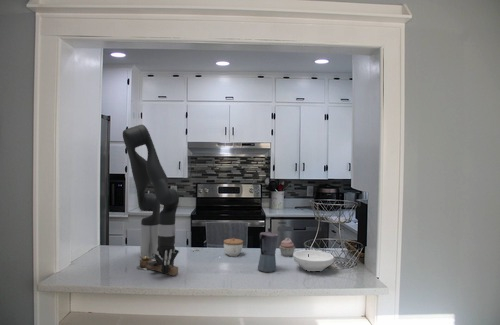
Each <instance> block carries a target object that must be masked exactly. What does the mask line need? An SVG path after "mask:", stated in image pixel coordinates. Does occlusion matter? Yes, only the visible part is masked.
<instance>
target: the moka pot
mask: <svg viewBox="0 0 500 325" xmlns="http://www.w3.org/2000/svg"><path fill="white" fill-rule="evenodd" d="M271 230H272V228H270V227H269V228H267V231H265V232H264V231H262V232H260V233H259V248H260V254H259V259H258V264H257V270H258V271H261V272H262V273H263V272H264V273H272V272H273V273H274V272H276V271H277V261H276V250H277V246H278V245H277V244H278V240H279V234H278V233H276V232H271Z"/></svg>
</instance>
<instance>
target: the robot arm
mask: <svg viewBox="0 0 500 325" xmlns="http://www.w3.org/2000/svg"><path fill="white" fill-rule="evenodd" d="M122 138H123V143H124V146H125V149H126V151H127V155H128V159H129V163H130V168H131V173H132V178H133V181H134V184H135V190H136V194H137V205H138V208H139V210H140V211H142V212H152V213H151V214H150V215H149V216H146V217H143V218H142V219H141V222H140V259H143V256H149V259H151V260H152V259H154V261H157V263H158V264H161V265H162V269H161V271H162V272H161V273H163V274H164V275H166V273H168V270H169V264H170V263H172V262H173V261H174V262H175V259H176V257H177V256H178V254H179V253H180V252H179V250H178V249H176V247H175V244H176V214H177V210H178V206H179V202H180V196H179V193H178V191H177V190H176V189H174V188H168V184H167V183H169V178H168V176H167V175H166V172H165V170H164V168H163V166H162V163H161V162H160V159H159V157H158V153H157V150H156V148H155V145H154V142H153V140H152V137H151V134H150V131H149V129H148V128H147V127H146V125H144V124H138V125H135V126H132V127H129V128H126V129H123V131H122ZM142 146H145V148H146V150H147V158H144V157H142V156H141V155H140V154H139V153H138V152H137V151H136V148H139V147H142ZM150 183H151V184H152V187H153V190H154V193H146V190H147V188H148V186H149V185H150ZM161 206H163V207H162V208H163V209H162V210H161Z"/></svg>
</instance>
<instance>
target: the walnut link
mask: <svg viewBox="0 0 500 325" xmlns="http://www.w3.org/2000/svg"><path fill="white" fill-rule="evenodd" d="M153 261H154V260H153V259H152V258H151V259H149V258H148V260H143V258H140V259H139V265H138V266H140V267H142V268H149V270H153V271H156V272H160V273H162V271H161V269H162V265H161V264H160V265H157V266H150V265H149V263H150V262H153ZM166 274H167V275H170V276H176V275H178V274H179V267H178V266H175V265H174V266H172V265H169V270H168V273H165V275H166Z"/></svg>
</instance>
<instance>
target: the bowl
mask: <svg viewBox="0 0 500 325" xmlns="http://www.w3.org/2000/svg"><path fill="white" fill-rule="evenodd" d="M308 254H309V257H308ZM292 258H293V261H294V262H295V263H297V264H298V265H299V266H300V267H301V268H302V269H303V270H304V271H306V270H307V272H310V271H320V272H322V271H323V270H324V269H326V268H327V267H329V266H331V265H332V264H333V263H334V260H335V259H334V258H335V257H334V255H332V254H331V253H329V252H326V251H322V250H316V249H315V250H314V249H309V250H308V249H303V250H297V251H294V252H293V255H292Z"/></svg>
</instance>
